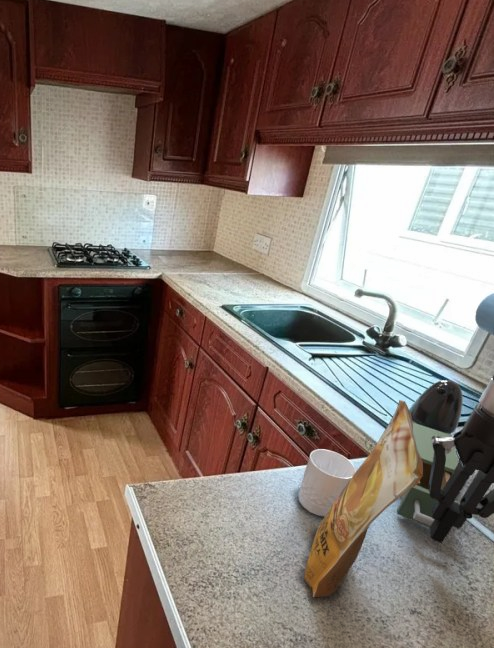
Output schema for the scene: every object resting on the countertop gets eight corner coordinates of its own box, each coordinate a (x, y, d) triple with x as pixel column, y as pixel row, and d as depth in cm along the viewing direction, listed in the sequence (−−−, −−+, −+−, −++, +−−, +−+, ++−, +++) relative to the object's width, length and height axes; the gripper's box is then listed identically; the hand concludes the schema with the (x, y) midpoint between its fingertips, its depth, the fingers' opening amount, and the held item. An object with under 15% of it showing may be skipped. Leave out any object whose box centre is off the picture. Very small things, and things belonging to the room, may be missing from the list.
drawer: (446, 552, 69) (465, 524, 66) (396, 531, 72) (412, 503, 69) (437, 489, 83) (452, 464, 80) (396, 474, 87) (409, 449, 84)
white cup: (339, 499, 79) (357, 460, 75) (336, 526, 73) (355, 485, 69) (298, 482, 83) (312, 443, 78) (291, 506, 77) (307, 466, 72)
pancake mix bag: (359, 536, 72) (427, 404, 59) (343, 624, 57) (428, 473, 45) (320, 517, 75) (376, 387, 63) (294, 595, 60) (361, 447, 48)
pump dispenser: (393, 425, 106) (417, 375, 99) (415, 417, 110) (440, 369, 104) (434, 449, 98) (464, 396, 91) (456, 439, 102) (486, 388, 96)
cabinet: (440, 505, 81) (460, 472, 77) (391, 485, 85) (408, 453, 81) (434, 465, 92) (452, 435, 88) (391, 450, 96) (406, 420, 92)
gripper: (456, 410, 55) (389, 531, 66) (585, 448, 50) (489, 574, 60) (450, 388, 61) (389, 502, 72) (564, 421, 55) (481, 540, 66)
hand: (435, 535), depth 66 cm, fingers closed
